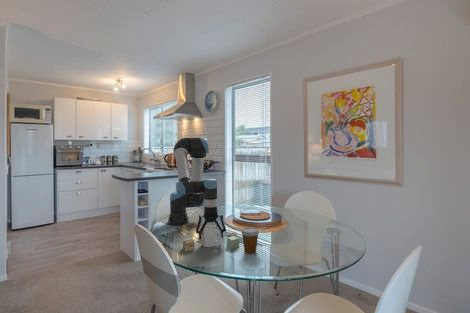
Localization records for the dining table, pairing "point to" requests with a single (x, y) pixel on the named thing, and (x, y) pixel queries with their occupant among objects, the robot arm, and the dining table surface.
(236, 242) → the sage painted cube
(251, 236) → the disposable coffee cup
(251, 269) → the dining table surface
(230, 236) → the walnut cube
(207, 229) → the mug
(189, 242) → the oak cube
